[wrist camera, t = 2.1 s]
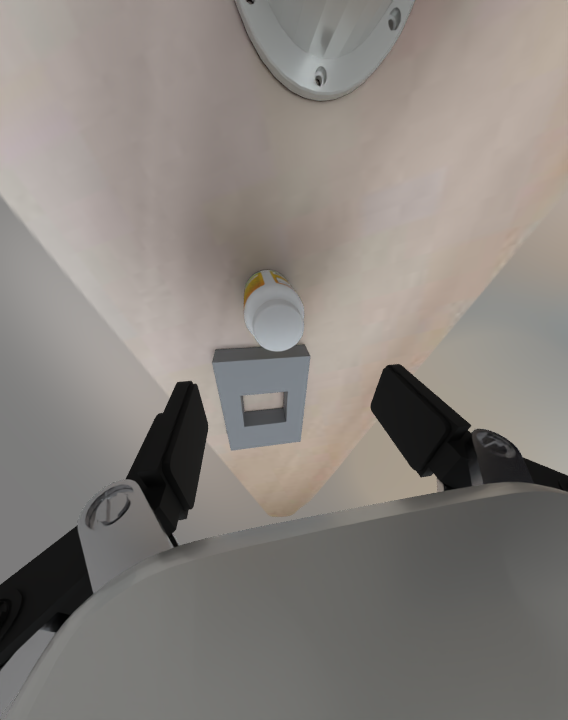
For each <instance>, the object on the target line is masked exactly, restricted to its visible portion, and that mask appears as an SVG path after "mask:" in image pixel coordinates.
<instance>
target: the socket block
mask: <svg viewBox="0 0 568 720" xmlns="http://www.w3.org/2000/svg"><path fill="white" fill-rule="evenodd" d="M309 363H310V355H309V352H308V350H307V348H306V346H305V345H294V346H293V347H291V348H290V349H287V350H284V351H270V350H267V349H265V348H263V347H254V348H237V349H220V350H215V353H214V357H213V362H212V364H213V369H214V373H215V378H216V383H217V387H218V392H219V397H220V401H221V406H222V411H223V415H224V420H225V425H226V429H227V434H228V439H229V443H230V448H231V450H239V449H246V448H254V447H262V446H269V445H277V444H285V443H292V442H300V441H301V432H302V423H303V415H304V406H305V397H306V389H307V380H308V372H309ZM275 392H284V407H283V408H278V409H269V410H259V411H250V412H244V404H243V395H254V394H264V393H275Z"/></svg>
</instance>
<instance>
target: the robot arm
mask: <svg viewBox="0 0 568 720" xmlns="http://www.w3.org/2000/svg"><path fill="white" fill-rule="evenodd" d="M252 1H253V3H254V4H251V5H250V4H249V3H247V2H246V0H235V2H236V5H237V8H238V11H239V13H240V16H241V18H242V21H243V23H244V26H245V28H246V31H247V34H248V36H249V38H250V40H251V41H252V43H253V45H254V47H255V49H256V50H257V52H258V54H259V56H260V58H261V59H262V61H263V62H264V63H265V65H266V66H267V67H268V69H269V70H270V71H271V72H272V74H273V75H274V76H275V77H276V78H277V79H278V80H279V81H280V82H281V83H282V84H283V85H285V86H286V87H287V88H288V89H289V90H291V91H292V92H294V93H296V94H298V95H300V96H302V97H304V98H308V99H313V100H318V101H324V100H333V99H337V98H339V97H341V96H344V95H346V94H349V93H350V92H352V91H353V90H354V89H356V88H357V87H358V86H360V85H361V84H362V83H364V82H365V81H366V80H367V78H368V77H369V76H370V75H371V74H372V73H373V72H374V71H375V70H376V69H377V67H378V66H379V65H380V64H381V62H382V61H383V60H384V58H385V57H386V56H387V54H388V53H389V52H390V50H391V49H392V47H393V45H394V44H395V42H396V40H397V39H398V37H399V35H400V34H401V32H402V30H403V28H404V26H405V23H406V21H407V19H408V16H409V14H410V12H411V9H412V7H413V5H414V2H415V0H252ZM315 79H318V80H319V81H320V86H318V85H317V84H316V82H315ZM371 410H372V412H373V414H374V415H375V416H376V418H377V419H378V421H379V422H380V423H381V425H382V426H383V428H384V429H385V431H386V432H387V433H388V435H389V436H390V438H391V439H392V441H393V442H394V443H395V445H396V446H397V448H398V449H399V451H400V452H401V453H402V455H403V456H404V458H405V459H406V460H407V462H408V463H409V465H410V466H411V467H412V468H413V469H414V470H416V471H417V473H418V474H419V475H420V477H426V476H431V475H432V474H433V473H434V474H435V475H436V477H437V493H432V494H426V495H421V496H416V497H411V498H405V499H400V500H394V501H390V502H385V503H379V504H373V505H368V506H363V507H358V508H353V509H347V510H342V511H337V512H332V513H327V514H322V515H317V516H311V517H307V518H301V519H297V520H291V521H286V522H281V523H276V524H271V525H266V526H261V527H256V528H251V529H246V530H242V531H238V532H233V533H228V534H223V535H219V536H214V537H210V538H205V539H202V540H198V541H194V542H191V543H187V544H183V545H179V543H178V541H177V539H176V537H175V536H174V534H173V532H174V531H175V530H176V527H177V522H178V520H183V519H186V518H187V515H188V510H189V509H192V508H193V506H194V502H195V496H196V491H197V486H198V481H199V475H200V470H201V465H202V459H203V454H204V449H205V443H206V438H207V433H208V422H207V418H206V415H205V411H204V408H203V404H202V400H201V397H200V393H199V390H198V386H197V384H193V382H192V381H185V382H177V384H176V386H175V388H174V390H173V392H172V395H171V397H170V399H169V401H168V404H167V406H166V408H165V410H164V412H163V413H160V414H158V415H157V416H156V418H155V419H154V421H153V424H152V426H151V428H150V430H149V432H148V434H147V436H146V438H145V440H144V442H143V444H142V446H141V448H140V450H139V453H138V455H137V457H136V459H135V461H134V463H133V465H132V467H131V469H130V471H129V474H128V475H127V477H126V480H120V481H117V482H113V483H111V484H110V485H108V486H106V487H104V488H103V489H102V490H100V491H99V492H98V493H96V494H95V495H94V496H93V497H92V498H91V499H90V500H89V501H88V503H87V504H86V505H85V507H84V508H83V510H82V512H81V514H80V516H79V519H78V525H77V526H76V527H75V528H73V529H72V530H71V531H69V532H68V533H67V534H66V535H64V536H63V537H62V538H60V539H59V540H58V541H57V542H55V543H54V544H53V545H51V546H50V547H49V548H47V549H46V550H45V551H44V552H42V553H41V554H40V555H39V556H37V557H36V558H34V559H33V560H32V561H31V562H29V563H28V564H27V565H25V566H24V567H23V568H21V569H20V570H19V571H18V572H17V573H15V574H14V575H12V576H11V577H10V578H8V579H7V580H6V581H5V582H3V583H2V584H1V585H0V716H1V715H2V714H3V712H4V711H5V710H6V708H7V707H8V705H9V704H10V703H11V701H12V700H13V699H14V697H15V696H16V695H17V696H16V698H15V700H14V702H13V703H12V705H11V707H10V709H9V711H8V713H7V714H6V716H5V718H4V720H568V476H567V475H565V474H562V473H560V472H557V471H555V470H552V469H550V468H548V467H545V466H543V465H540V464H538V463H535V462H532V461H530V460H528V459H525V458H523V457H522V455H521V453H520V452H519V450H518V448H517V447H516V446H515V445H514V444H513V443H511V442H510V441H509V440H507V439H506V438H505V437H503V436H501V435H499V434H497V433H495V432H492V431H489V430H486V429H476V430H474V431H473V432H472V433H470V432H469V431H468V429H469V428H470V426H471V425H470V424H469V423H468V422H467V421H466V420H464V419H463V418H462V417H461V416H460V415H459V414H457V413H456V412H455V411H454V410H453V409H452V408H451V407H449V406H448V405H447V404H446V403H445V402H443V401H442V400H441V399H440V398H439V397H438V396H436V395H435V394H434V393H433V392H432V391H431V390H430V389H428V388H427V387H426V386H425V385H424V384H422V383H421V382H420V381H419V380H418V379H417V378H416V377H414V376H413V375H412V374H411V373H410V372H409V371H407V370H406V369H405V368H404V367H403V366H402V365H400V364H395V365H387V366H386V368H384V369H383V371H382V374H381V377H380V380H379V383H378V385H377V388H376V391H375V394H374V397H373V400H372V402H371ZM18 692H19V693H18ZM17 693H18V694H17ZM0 720H2V719H1V718H0Z"/></svg>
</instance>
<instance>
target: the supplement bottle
mask: <svg viewBox="0 0 568 720" xmlns="http://www.w3.org/2000/svg"><path fill="white" fill-rule="evenodd" d="M244 319H245V323H246V326H247V328H248V330H249V331H250V332H251V333H252V335H253V336H254V337H255V339H256V341H257V342H258V343H259V344H260V345H261V346H262V347H263V348H265V349H267V350H270V351H284V350H287V349H290V348H291V347H293V346H294V345H296V344H297V343H298V341H299V340H300V339H301V337H302V335H303V331H304V321H303V320H304V307H303V304H302V301H301V299H300V297H299V296H298V294H297V293H296V292H295V290H294V289H293V288H292V286H291V285H290V284H289V282H288V281H287V280H286V279H285V278H284V277H283V276H282V275H281V274H279V273H278V272H275V271H272V270H263V271H260V272H257V273H256V274H254V275H253V276H252V277H251V278H250V279H249V280H248V282H247V284H246V286H245V290H244Z"/></svg>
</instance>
